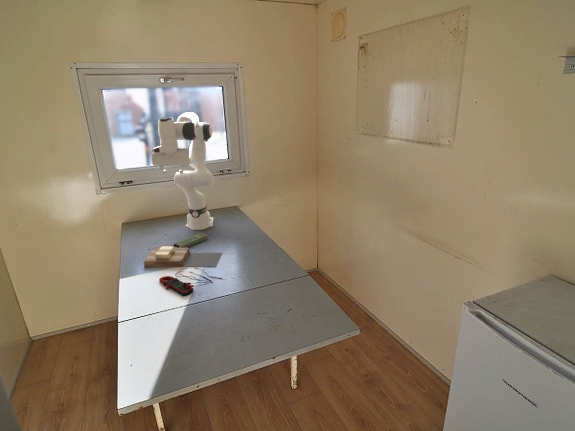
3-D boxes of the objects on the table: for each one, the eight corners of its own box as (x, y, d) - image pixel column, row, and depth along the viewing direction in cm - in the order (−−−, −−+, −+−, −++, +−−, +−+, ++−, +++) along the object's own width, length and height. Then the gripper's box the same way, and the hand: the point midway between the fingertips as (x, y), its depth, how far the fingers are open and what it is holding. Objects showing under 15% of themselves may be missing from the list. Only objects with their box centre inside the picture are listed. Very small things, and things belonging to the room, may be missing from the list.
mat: (190, 253, 199) (190, 252, 199) (221, 253, 198) (221, 252, 198) (182, 267, 184) (182, 266, 184) (215, 267, 183) (215, 266, 183)
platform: (155, 253, 199) (154, 247, 198) (189, 253, 199) (189, 247, 197) (144, 267, 184) (143, 261, 183) (181, 267, 184) (180, 261, 183)
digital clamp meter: (184, 294, 153) (154, 275, 168) (185, 302, 155) (155, 283, 170) (224, 272, 170) (193, 257, 185) (225, 280, 172) (194, 265, 187)
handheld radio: (201, 236, 220) (167, 250, 202) (200, 231, 219) (166, 245, 201) (207, 239, 216) (173, 253, 198) (207, 234, 215) (173, 248, 197)
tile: (162, 250, 195) (161, 246, 194) (174, 250, 195) (174, 246, 194) (155, 258, 186) (155, 254, 185) (168, 258, 185) (167, 254, 185)
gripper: (190, 147, 187) (193, 171, 192) (153, 147, 188) (157, 172, 193) (187, 149, 181) (190, 174, 186) (148, 149, 182) (152, 174, 187)
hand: (173, 173), depth 189 cm, fingers open, 8 cm apart
